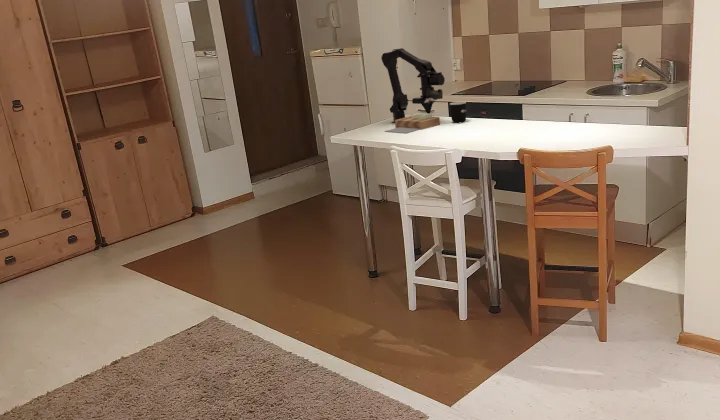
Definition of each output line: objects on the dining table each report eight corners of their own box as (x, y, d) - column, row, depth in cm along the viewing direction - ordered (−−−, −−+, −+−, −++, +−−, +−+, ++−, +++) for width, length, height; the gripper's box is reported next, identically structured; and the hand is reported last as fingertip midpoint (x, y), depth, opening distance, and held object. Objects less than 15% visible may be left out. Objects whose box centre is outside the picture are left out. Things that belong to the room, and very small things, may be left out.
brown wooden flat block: (395, 127, 361) (394, 120, 360) (413, 122, 370) (412, 115, 368) (422, 129, 346) (421, 121, 345) (439, 124, 355) (439, 117, 354)
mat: (384, 131, 352) (384, 131, 352) (399, 127, 359) (399, 127, 359) (405, 133, 340) (405, 132, 340) (420, 129, 347) (420, 128, 347)
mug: (462, 123, 351) (461, 104, 348) (447, 123, 356) (446, 104, 353) (473, 119, 360) (472, 100, 357) (458, 119, 365) (457, 100, 362)
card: (412, 118, 359) (411, 114, 359) (419, 116, 363) (419, 112, 362) (424, 119, 353) (424, 115, 352) (431, 117, 356) (431, 113, 356)
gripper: (425, 88, 345) (428, 117, 349) (449, 83, 356) (451, 111, 361) (410, 88, 353) (412, 117, 357) (433, 82, 364) (435, 111, 369)
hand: (428, 114), depth 361 cm, fingers closed
